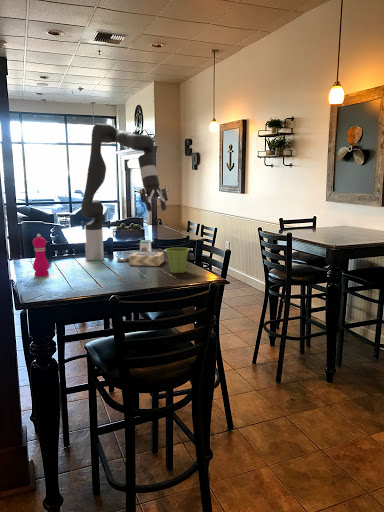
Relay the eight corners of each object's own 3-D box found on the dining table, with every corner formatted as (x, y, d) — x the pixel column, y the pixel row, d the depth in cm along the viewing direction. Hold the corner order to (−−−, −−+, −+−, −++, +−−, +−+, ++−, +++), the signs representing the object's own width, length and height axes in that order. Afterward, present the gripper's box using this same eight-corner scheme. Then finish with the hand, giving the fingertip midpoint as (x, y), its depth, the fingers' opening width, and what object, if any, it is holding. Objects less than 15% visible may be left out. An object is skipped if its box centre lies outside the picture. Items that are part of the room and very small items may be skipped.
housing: (140, 259, 235) (139, 241, 233) (142, 257, 241) (142, 239, 240) (148, 259, 234) (148, 241, 233) (151, 257, 241) (150, 239, 239)
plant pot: (192, 269, 206) (191, 247, 204) (186, 275, 195) (186, 251, 193) (169, 268, 209) (168, 246, 207) (162, 274, 198) (161, 250, 196)
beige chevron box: (129, 265, 219) (129, 255, 218) (135, 260, 231) (135, 250, 230) (159, 265, 217) (158, 255, 216) (163, 260, 229) (163, 251, 228)
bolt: (117, 262, 226) (117, 257, 225) (117, 261, 229) (117, 256, 228) (131, 262, 227) (131, 256, 227) (131, 260, 230) (131, 255, 230)
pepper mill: (45, 273, 201) (42, 232, 198) (52, 275, 196) (49, 233, 193) (31, 275, 196) (27, 233, 193) (37, 278, 191) (34, 235, 188)
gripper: (156, 179, 200) (163, 212, 199) (132, 179, 190) (140, 213, 189) (166, 174, 194) (173, 208, 193) (142, 173, 184) (150, 209, 183)
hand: (157, 210), depth 191 cm, fingers open, 8 cm apart
